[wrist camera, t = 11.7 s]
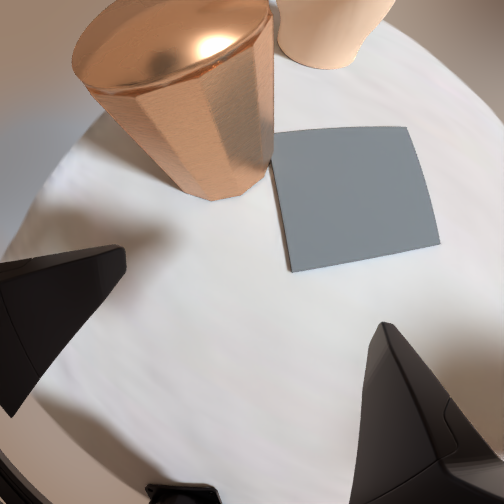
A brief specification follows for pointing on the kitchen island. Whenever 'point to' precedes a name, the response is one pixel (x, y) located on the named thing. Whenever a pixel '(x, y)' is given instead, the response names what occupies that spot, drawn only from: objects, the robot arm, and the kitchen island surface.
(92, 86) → the brown tapered cup
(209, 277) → the kitchen island surface
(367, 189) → the slate mat
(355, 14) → the water bottle
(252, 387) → the kitchen island surface
